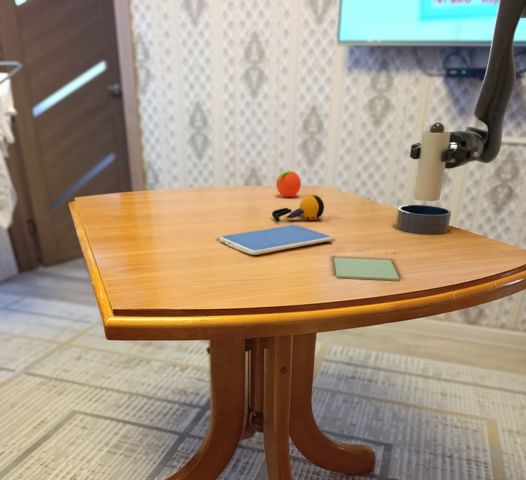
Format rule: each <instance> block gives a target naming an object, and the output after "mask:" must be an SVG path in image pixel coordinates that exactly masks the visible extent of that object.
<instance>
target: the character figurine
mask: <svg viewBox="0 0 526 480" xmlns="http://www.w3.org/2000/svg"><path fill="white" fill-rule="evenodd" d="M324 211H325V204H324V201H323V199H322V198H321V197H320V196H319V195H315V194H309V195H307V196H305V197H303V198H302V200H301V201H300V204H299V208H297V209H295V210H294V211H293V212H292V209H291V208H288V207H283V208H278V209H276V210H273V211H272V213H271V216H272V217H273V219H274V221H276V222H279V221H280V218H281V217H283V216H285V215H287V216H286V218H287V219H295V218H297V217H299V216H302V217H303V218H304V219H306V220H308V221H315V220H318V219H319V218H321V217H322V216H323V214H324Z"/></svg>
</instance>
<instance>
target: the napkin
mask: <svg viewBox="0 0 526 480" xmlns="http://www.w3.org/2000/svg"><path fill="white" fill-rule="evenodd" d="M333 264H334V270H335V277H336V279H349V280H370V281H371V280H372V281H391V282H393V281H394V282H399V281H400V277H399V275H398V273H397V270H396V268H395V266H394V264H393V262H392V260H390V259H371V258H351V257H350V258H349V257H348V258H347V257H344V258H343V257H334V258H333Z"/></svg>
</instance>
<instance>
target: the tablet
mask: <svg viewBox="0 0 526 480" xmlns="http://www.w3.org/2000/svg"><path fill="white" fill-rule="evenodd" d="M219 241H220V242H221V243H223V244H225V245H226V246H228V247H230V248H233V249H234V250H237V251H240V252H242V253H245V254H248V255H251V256H258V255H263V254H267V253H273V252H279V251H283V250H284V251H285V250H290V249H295V248H300V247H304V246H305V247H306V246H310V245H315V244H320V243H326V242H331V241H333V237H332V236H331V235H328V234H325V233H323V232H319V231H316V230H313V229H310V228H307V227H304V226H301V225H297V224H290V225H284V226H283V225H282V226H278V227H271V228H265V229H258V230H252V231H246V232H239V233H234V234H227V235H222V236H219Z"/></svg>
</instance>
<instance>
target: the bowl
mask: <svg viewBox="0 0 526 480" xmlns="http://www.w3.org/2000/svg"><path fill="white" fill-rule="evenodd" d="M451 216H452V211H451V210H450V209H447V208H444V207H440V206H434V205H427V204H405V205H401V206H398V208H397V213H396V220H395V227H396V229H398V230H400V231H404V232H407V233H411V234H419V235H441V234H445V233H447V232H448V231H449V228H450V222H451Z"/></svg>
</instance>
